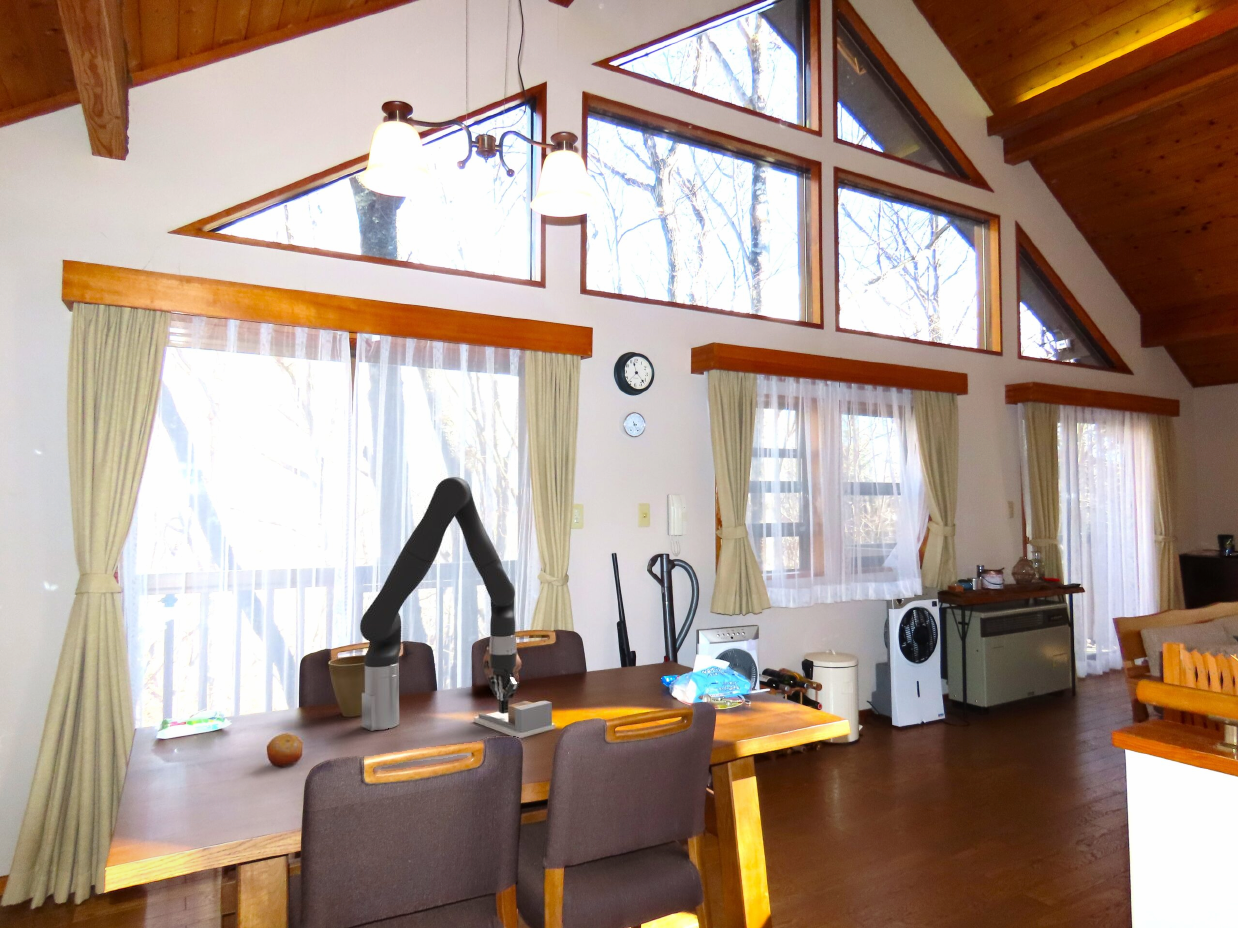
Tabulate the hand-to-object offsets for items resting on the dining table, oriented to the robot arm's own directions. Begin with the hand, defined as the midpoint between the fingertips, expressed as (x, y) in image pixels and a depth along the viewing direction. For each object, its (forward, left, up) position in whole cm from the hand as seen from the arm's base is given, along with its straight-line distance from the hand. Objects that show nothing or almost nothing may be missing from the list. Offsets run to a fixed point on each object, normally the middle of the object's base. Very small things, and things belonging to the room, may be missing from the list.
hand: (503, 712), depth 215 cm
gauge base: (0, -4, -3) cm, 5 cm away
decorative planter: (+22, +35, -3) cm, 41 cm away
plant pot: (-26, +41, -3) cm, 48 cm away
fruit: (-57, +10, -3) cm, 57 cm away
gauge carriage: (0, -9, -1) cm, 9 cm away
